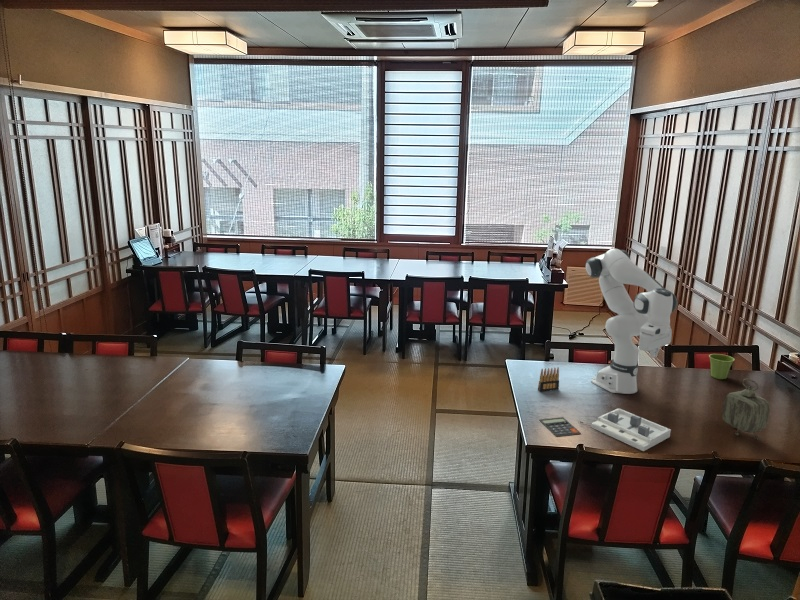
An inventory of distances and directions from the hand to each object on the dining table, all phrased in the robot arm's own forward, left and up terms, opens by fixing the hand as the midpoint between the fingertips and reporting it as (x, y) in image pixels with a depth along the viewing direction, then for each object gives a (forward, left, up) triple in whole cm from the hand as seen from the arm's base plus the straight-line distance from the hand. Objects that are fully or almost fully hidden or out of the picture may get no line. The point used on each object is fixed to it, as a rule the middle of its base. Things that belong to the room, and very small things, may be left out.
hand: (653, 356), depth 232 cm
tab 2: (+4, -15, -27) cm, 31 cm away
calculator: (-16, -40, -30) cm, 52 cm away
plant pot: (-3, +77, -29) cm, 82 cm away
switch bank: (+4, -19, -29) cm, 35 cm away
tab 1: (-3, -21, -26) cm, 34 cm away
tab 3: (+11, -21, -26) cm, 36 cm away
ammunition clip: (-44, -13, -29) cm, 54 cm away
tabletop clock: (+32, +18, -29) cm, 47 cm away
